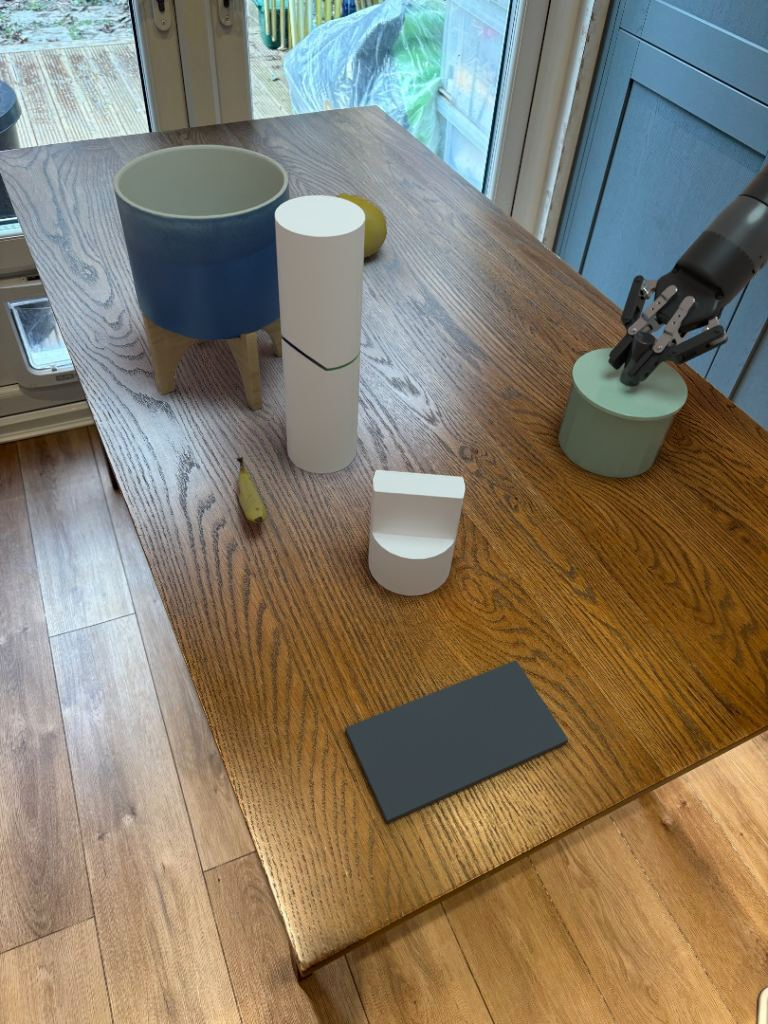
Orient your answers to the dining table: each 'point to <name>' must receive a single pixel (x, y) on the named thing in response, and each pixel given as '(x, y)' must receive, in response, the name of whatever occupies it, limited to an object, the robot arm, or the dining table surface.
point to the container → (320, 327)
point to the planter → (204, 252)
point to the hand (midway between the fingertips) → (622, 372)
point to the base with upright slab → (413, 529)
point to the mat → (453, 739)
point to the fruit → (370, 222)
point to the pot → (609, 439)
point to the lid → (629, 384)
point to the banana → (250, 496)
